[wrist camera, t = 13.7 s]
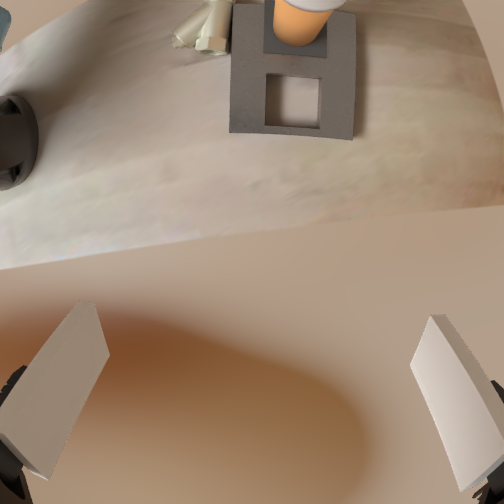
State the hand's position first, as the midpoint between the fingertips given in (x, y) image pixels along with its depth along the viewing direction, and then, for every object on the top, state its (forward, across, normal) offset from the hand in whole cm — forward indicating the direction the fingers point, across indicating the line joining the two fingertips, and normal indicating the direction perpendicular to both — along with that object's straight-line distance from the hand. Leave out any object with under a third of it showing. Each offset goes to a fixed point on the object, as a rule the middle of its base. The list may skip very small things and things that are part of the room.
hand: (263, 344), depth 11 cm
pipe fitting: (+29, -8, +20) cm, 36 cm away
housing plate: (+29, +3, +14) cm, 32 cm away
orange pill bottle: (+26, +3, +19) cm, 33 cm away
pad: (+27, +3, +19) cm, 33 cm away
